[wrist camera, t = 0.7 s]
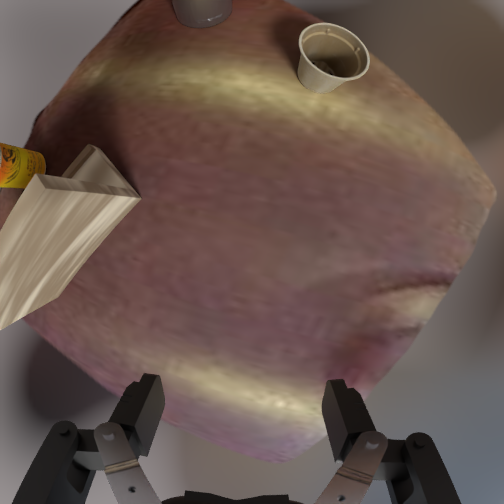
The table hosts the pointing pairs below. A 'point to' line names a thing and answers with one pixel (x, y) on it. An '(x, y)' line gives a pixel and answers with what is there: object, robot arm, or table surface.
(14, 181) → the beer can
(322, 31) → the flower pot
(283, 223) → the table surface
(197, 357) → the table surface
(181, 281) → the table surface
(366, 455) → the robot arm
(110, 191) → the wall board
